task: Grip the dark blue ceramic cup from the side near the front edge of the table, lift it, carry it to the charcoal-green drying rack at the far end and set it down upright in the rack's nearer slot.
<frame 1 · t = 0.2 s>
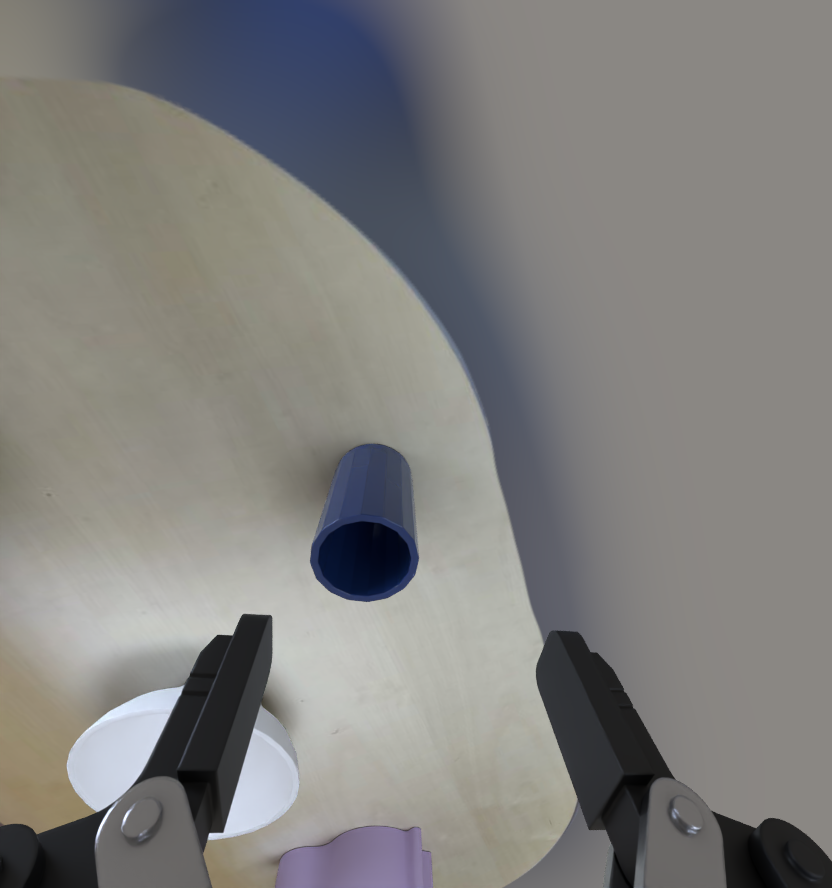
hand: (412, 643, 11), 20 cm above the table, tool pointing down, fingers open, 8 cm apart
bowl: (219, 703, 41), on the table
clip: (355, 852, 54), on the table
cup: (373, 478, 32), on the table
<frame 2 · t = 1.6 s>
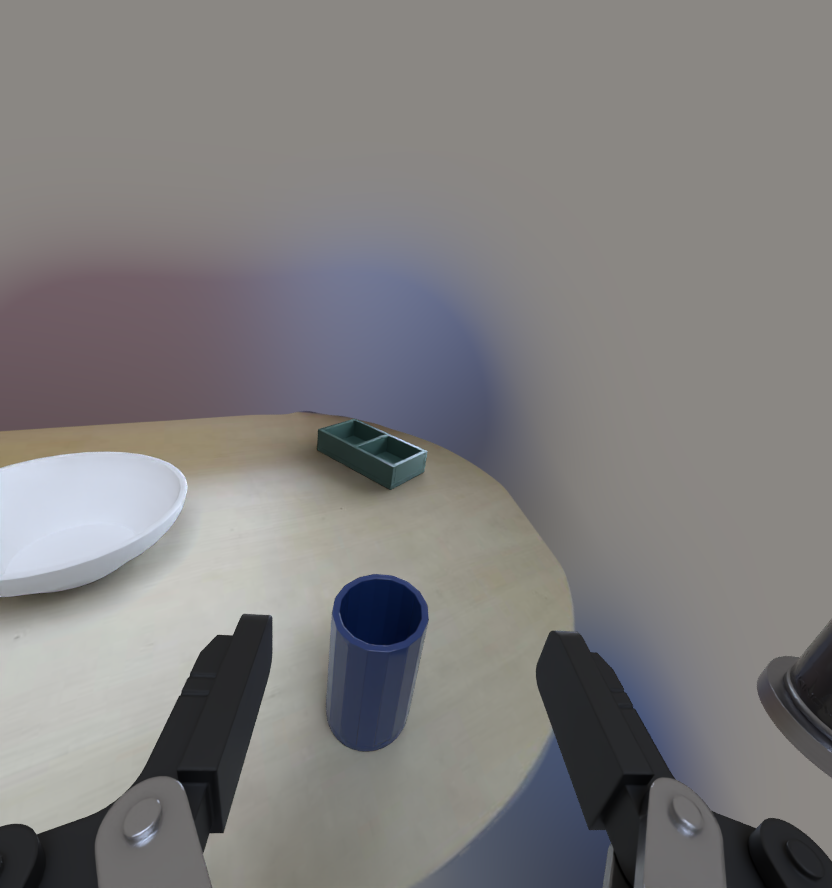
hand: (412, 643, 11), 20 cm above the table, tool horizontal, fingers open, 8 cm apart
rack: (369, 460, 64), on the table
bowl: (78, 561, 38), on the table
cup: (367, 705, 29), on the table
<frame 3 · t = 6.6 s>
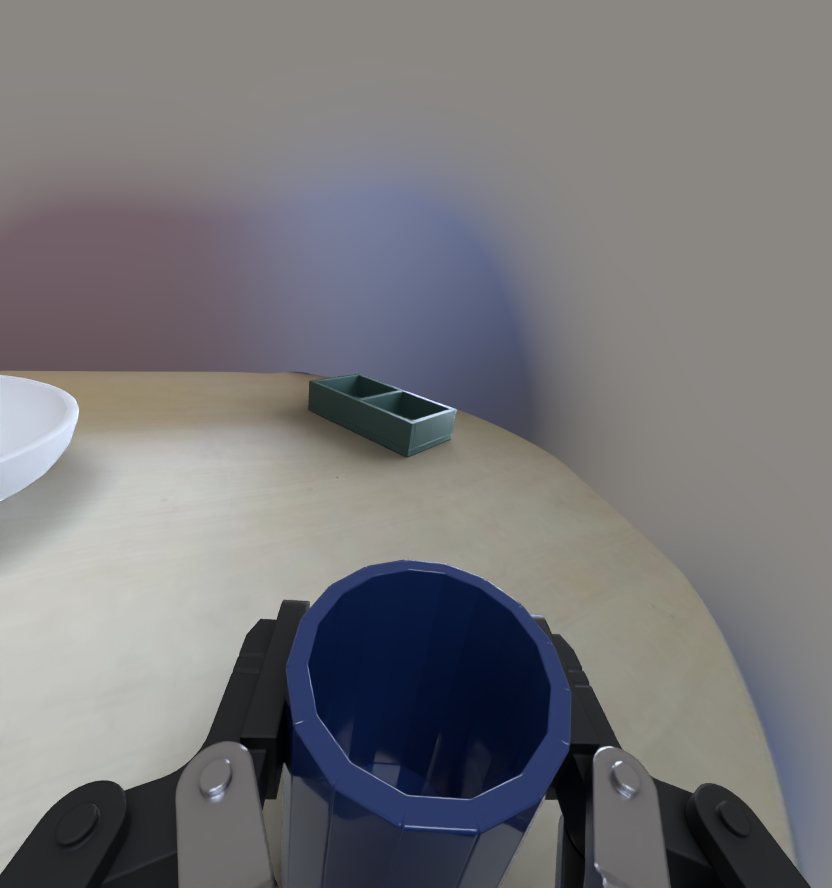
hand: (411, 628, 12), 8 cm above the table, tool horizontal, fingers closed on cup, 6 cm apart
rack: (378, 424, 48), on the table
cup: (380, 866, 13), on the table, touching gripper
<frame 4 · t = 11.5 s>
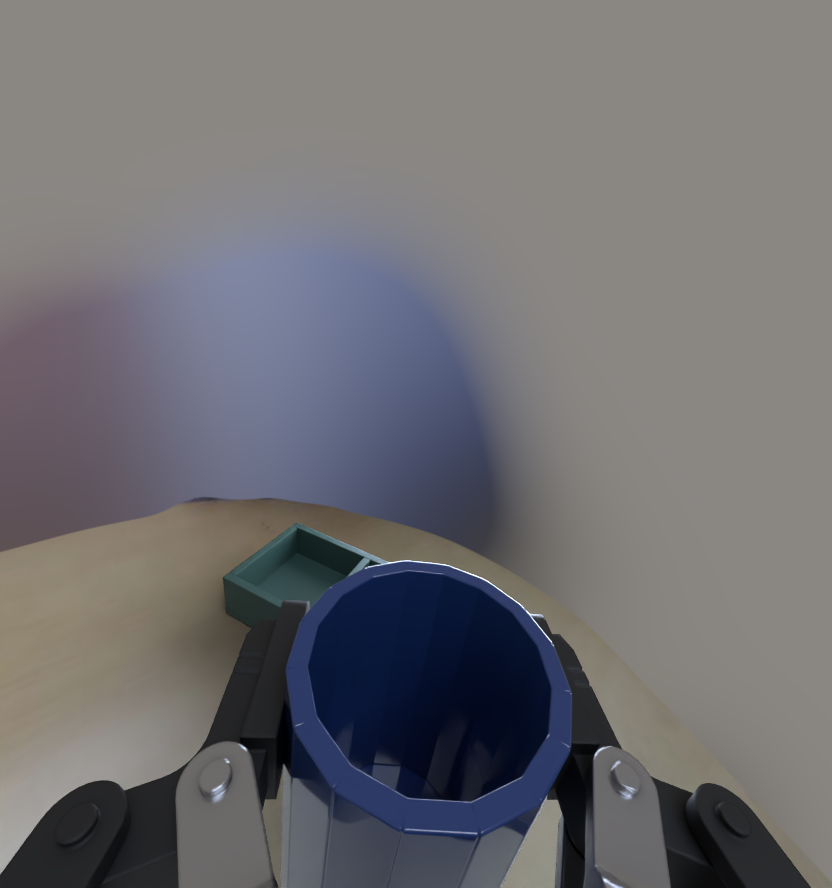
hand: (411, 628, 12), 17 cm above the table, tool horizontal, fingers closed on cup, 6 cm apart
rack: (340, 619, 32), on the table
cup: (381, 868, 13), point 9 cm above the table, touching gripper
when the fingers open (9 cm above the table, at t = 16.6 s): cup stays where it is, resting on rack.
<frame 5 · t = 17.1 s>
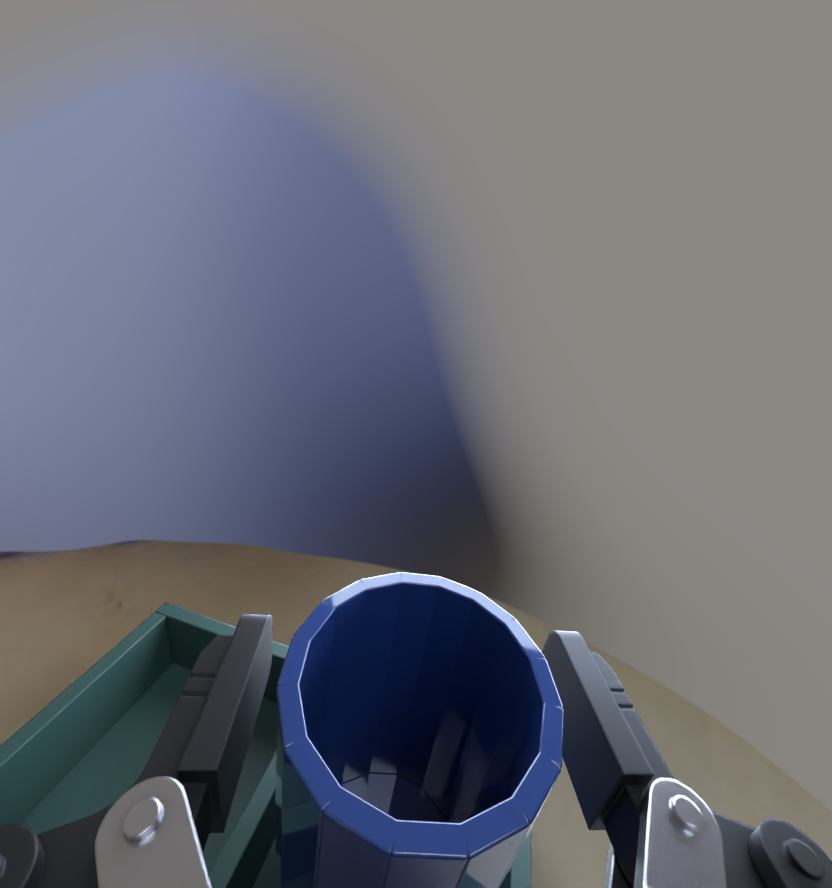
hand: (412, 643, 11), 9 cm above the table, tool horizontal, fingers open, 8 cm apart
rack: (272, 836, 14), on the table
cup: (376, 878, 13), point 1 cm above the table, touching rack
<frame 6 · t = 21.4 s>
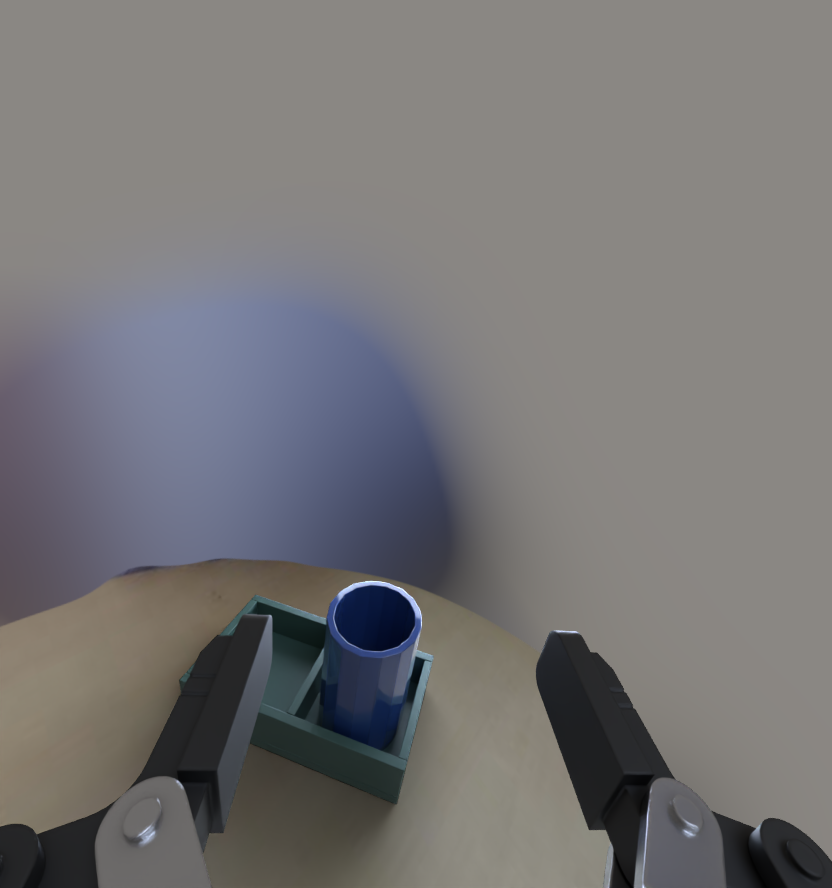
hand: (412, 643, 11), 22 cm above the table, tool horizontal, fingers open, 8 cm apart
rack: (314, 700, 31), on the table
cup: (360, 712, 29), point 1 cm above the table, touching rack
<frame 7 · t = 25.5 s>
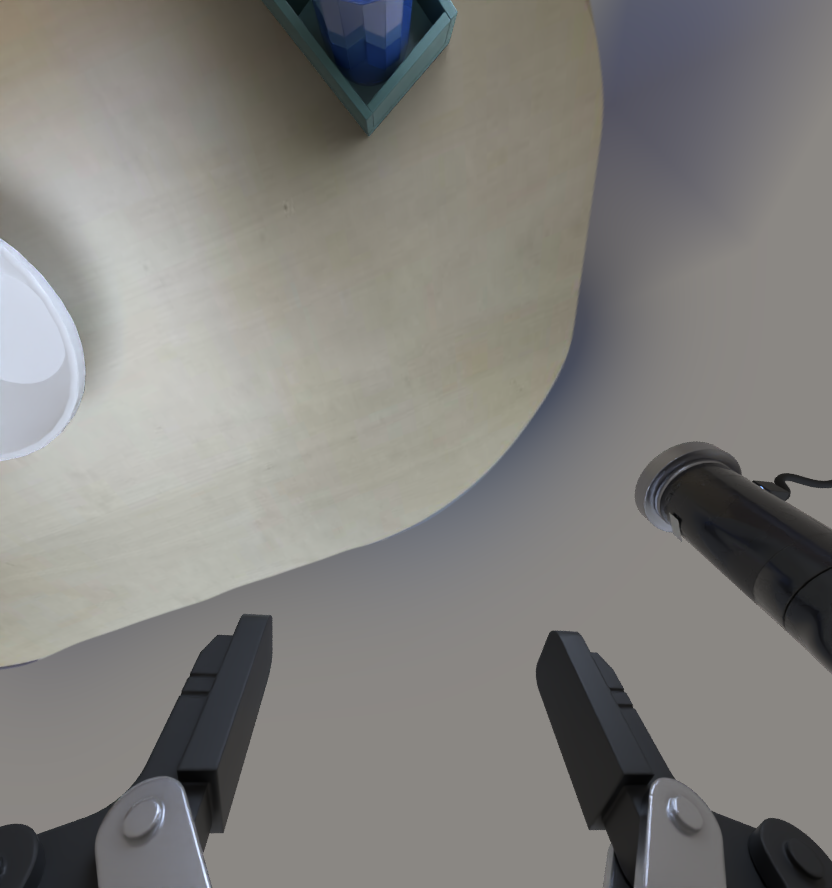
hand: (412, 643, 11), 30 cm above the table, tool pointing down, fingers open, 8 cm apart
bowl: (13, 327, 35), on the table
cup: (365, 30, 28), point 1 cm above the table, touching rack
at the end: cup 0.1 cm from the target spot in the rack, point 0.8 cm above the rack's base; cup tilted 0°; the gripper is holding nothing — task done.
